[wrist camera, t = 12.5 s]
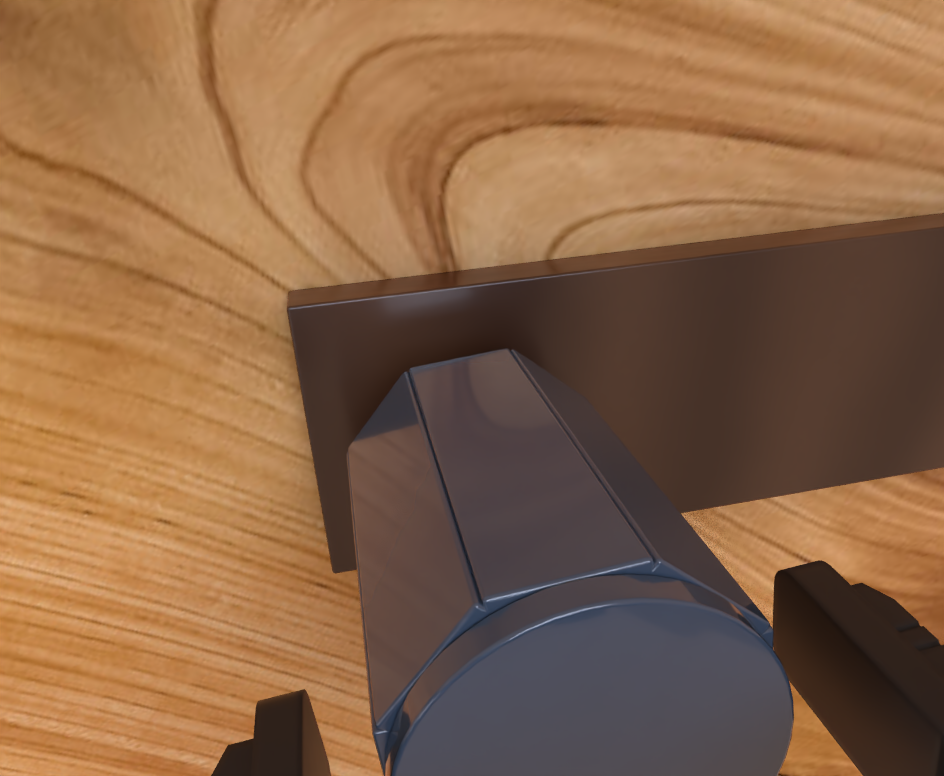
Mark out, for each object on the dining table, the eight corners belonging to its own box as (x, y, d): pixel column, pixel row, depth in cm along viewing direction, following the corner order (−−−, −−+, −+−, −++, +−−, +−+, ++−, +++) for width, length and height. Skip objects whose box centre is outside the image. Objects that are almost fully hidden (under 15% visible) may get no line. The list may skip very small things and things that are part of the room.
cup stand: (331, 544, 23) (350, 968, 12) (287, 290, 20) (262, 562, 9) (972, 436, 26) (1430, 697, 16) (1024, 202, 23) (1647, 328, 12)
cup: (304, 505, 18) (300, 856, 10) (450, 306, 17) (576, 526, 9) (496, 602, 21) (617, 952, 13) (638, 432, 19) (872, 698, 11)
